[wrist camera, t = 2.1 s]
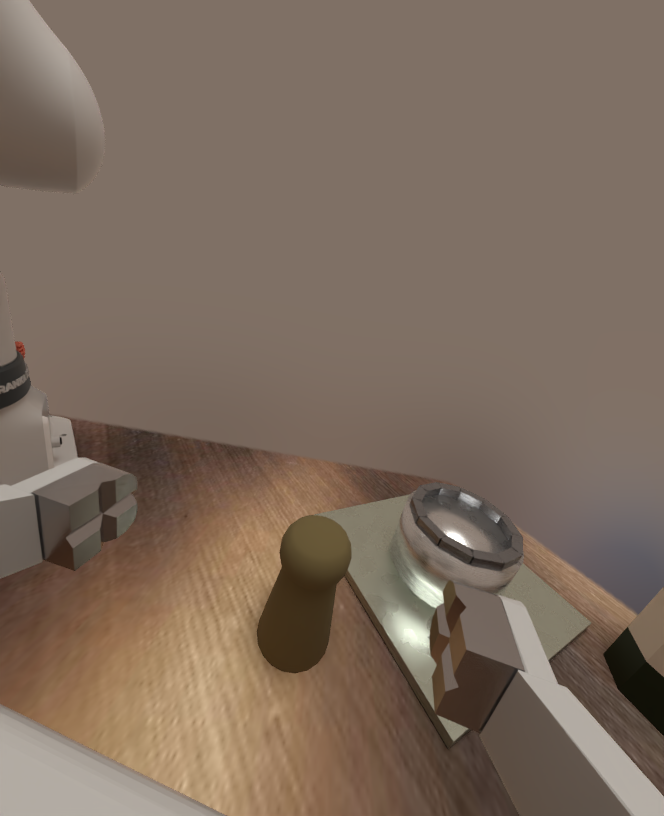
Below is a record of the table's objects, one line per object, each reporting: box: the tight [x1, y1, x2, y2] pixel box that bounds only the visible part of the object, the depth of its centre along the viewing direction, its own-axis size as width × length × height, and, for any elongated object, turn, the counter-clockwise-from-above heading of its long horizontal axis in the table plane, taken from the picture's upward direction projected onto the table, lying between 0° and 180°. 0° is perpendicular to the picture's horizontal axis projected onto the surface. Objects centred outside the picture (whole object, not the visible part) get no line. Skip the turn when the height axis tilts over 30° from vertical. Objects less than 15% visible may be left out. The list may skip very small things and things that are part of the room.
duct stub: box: [315, 482, 591, 749], centre depth 34 cm, size 22×22×8 cm
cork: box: [257, 515, 352, 673], centre depth 24 cm, size 6×6×11 cm
